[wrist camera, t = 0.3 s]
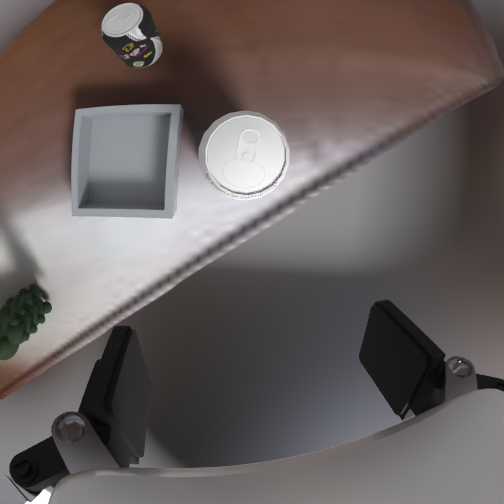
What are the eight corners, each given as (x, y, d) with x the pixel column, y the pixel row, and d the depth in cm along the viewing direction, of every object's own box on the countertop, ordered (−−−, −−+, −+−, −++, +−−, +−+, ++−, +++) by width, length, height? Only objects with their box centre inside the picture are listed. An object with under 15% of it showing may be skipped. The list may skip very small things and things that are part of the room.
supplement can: (255, 187, 38) (285, 209, 24) (196, 179, 36) (190, 196, 23) (266, 131, 36) (302, 120, 22) (206, 121, 34) (206, 101, 20)
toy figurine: (44, 259, 38) (-15, 314, 36) (-12, 311, 20) (-56, 364, 19) (74, 302, 41) (10, 347, 40) (35, 370, 24) (-23, 403, 22)
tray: (89, 113, 30) (75, 109, 26) (184, 110, 33) (180, 104, 28) (85, 208, 35) (72, 215, 30) (176, 210, 37) (172, 218, 33)
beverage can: (171, 48, 29) (159, 11, 18) (142, 77, 30) (117, 49, 19) (145, 29, 27) (125, -9, 16) (116, 57, 28) (86, 27, 17)
